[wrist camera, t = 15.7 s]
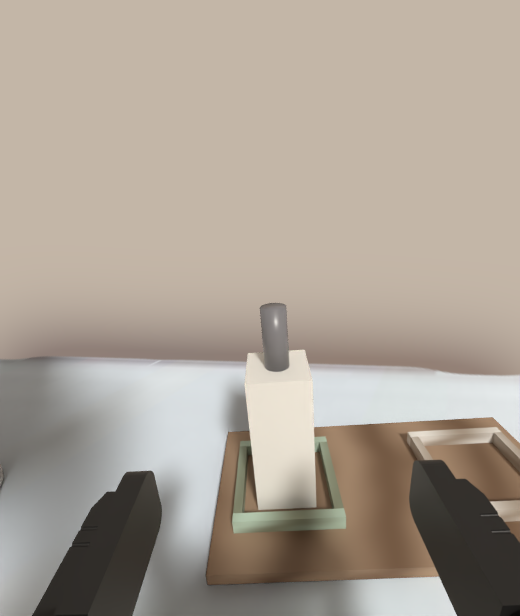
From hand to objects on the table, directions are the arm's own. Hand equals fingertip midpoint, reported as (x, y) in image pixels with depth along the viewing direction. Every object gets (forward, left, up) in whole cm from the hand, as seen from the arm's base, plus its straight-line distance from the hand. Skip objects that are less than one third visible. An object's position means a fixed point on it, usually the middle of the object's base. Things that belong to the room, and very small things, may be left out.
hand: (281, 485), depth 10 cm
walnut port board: (+7, +11, -13) cm, 18 cm away
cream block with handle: (0, +11, -12) cm, 16 cm away
